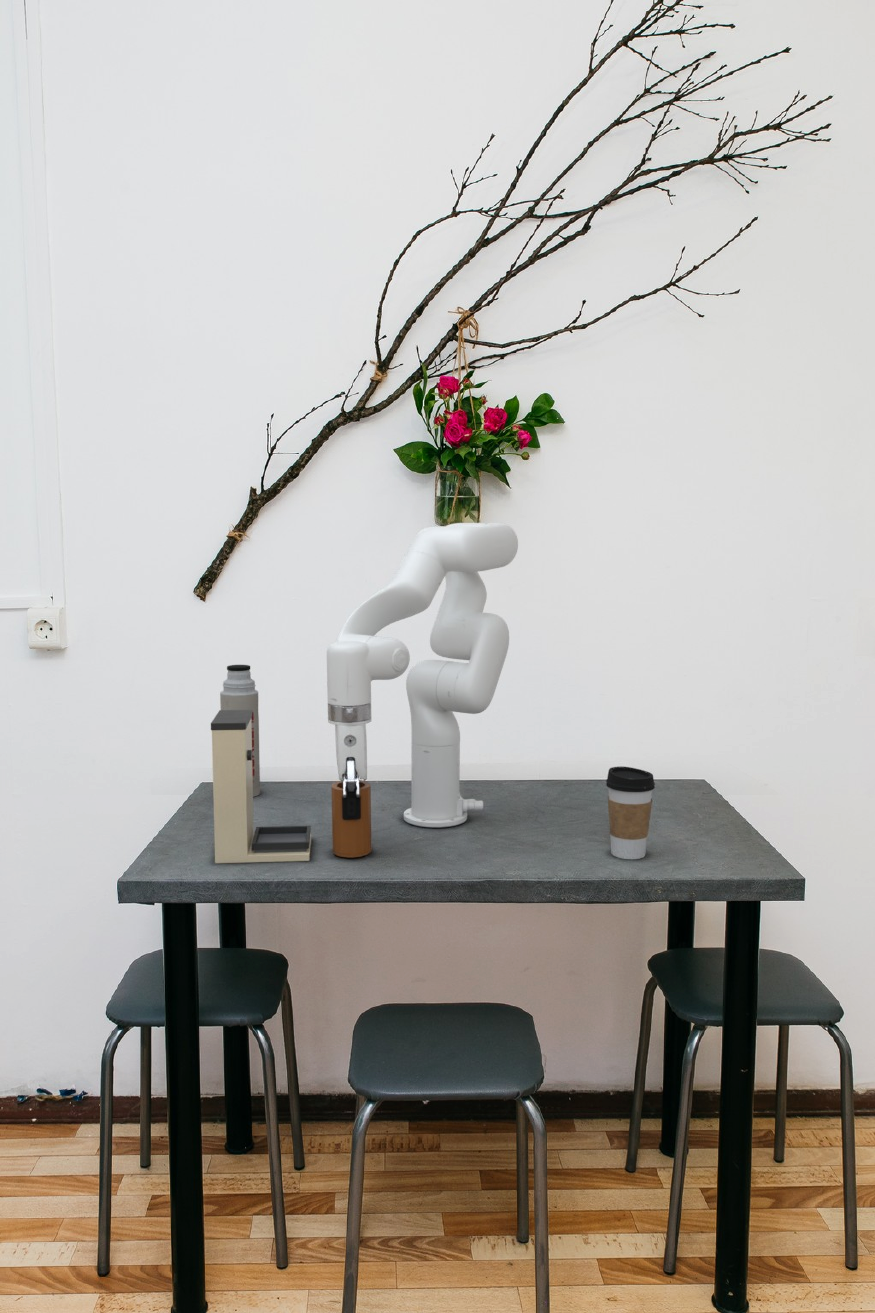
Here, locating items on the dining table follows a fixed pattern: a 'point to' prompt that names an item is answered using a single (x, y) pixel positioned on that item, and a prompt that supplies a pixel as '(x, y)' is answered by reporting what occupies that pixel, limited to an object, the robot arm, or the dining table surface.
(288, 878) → the dining table surface
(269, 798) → the dining table surface
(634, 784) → the coffee cup
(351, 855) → the brown hollow cylinder
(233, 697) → the thermos bottle
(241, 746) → the coffee maker
